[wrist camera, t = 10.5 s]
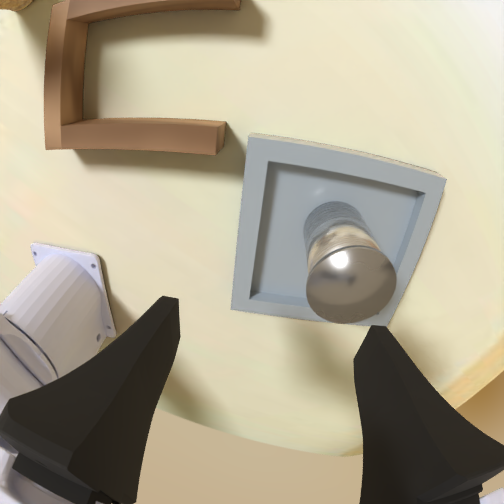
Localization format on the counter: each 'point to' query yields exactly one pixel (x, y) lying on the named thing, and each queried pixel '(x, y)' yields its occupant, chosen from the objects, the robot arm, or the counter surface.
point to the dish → (305, 201)
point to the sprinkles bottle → (14, 4)
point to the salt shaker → (345, 265)
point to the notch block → (72, 75)
